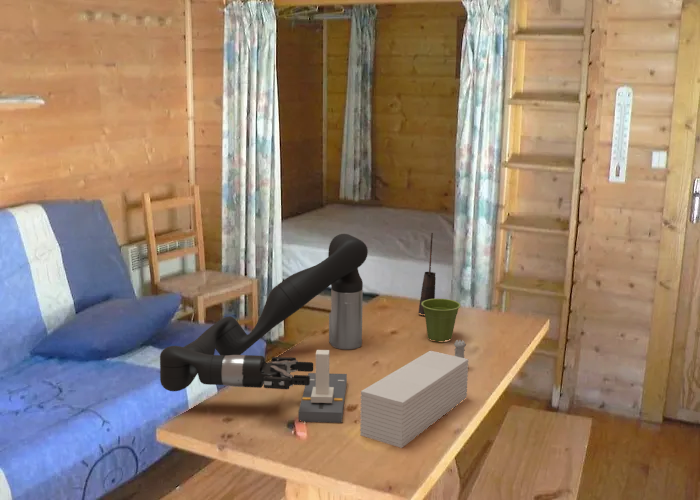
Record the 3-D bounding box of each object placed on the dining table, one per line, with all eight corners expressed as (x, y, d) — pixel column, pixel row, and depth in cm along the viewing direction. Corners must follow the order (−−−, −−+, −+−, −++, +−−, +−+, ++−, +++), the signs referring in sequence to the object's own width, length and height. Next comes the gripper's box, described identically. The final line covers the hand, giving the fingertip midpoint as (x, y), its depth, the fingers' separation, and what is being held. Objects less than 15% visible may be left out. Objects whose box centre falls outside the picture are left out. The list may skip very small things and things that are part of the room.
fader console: (308, 381, 202) (308, 371, 201) (346, 382, 201) (346, 372, 201) (298, 421, 178) (298, 410, 178) (341, 422, 178) (341, 411, 177)
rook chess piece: (468, 367, 213) (469, 339, 211) (465, 372, 209) (466, 344, 207) (452, 365, 214) (453, 337, 213) (449, 370, 210) (450, 342, 209)
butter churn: (433, 321, 253) (436, 238, 247) (407, 316, 258) (409, 234, 252) (444, 314, 261) (447, 233, 255) (419, 310, 266) (421, 230, 260)
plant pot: (412, 339, 236) (413, 303, 233) (435, 330, 244) (436, 296, 242) (443, 348, 228) (445, 312, 225) (466, 339, 236) (468, 303, 234)
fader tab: (313, 392, 187) (313, 347, 185) (333, 393, 187) (333, 348, 185) (310, 402, 181) (310, 356, 179) (332, 403, 181) (332, 356, 179)
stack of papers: (428, 390, 198) (430, 350, 195) (466, 399, 192) (468, 359, 189) (360, 436, 172) (360, 391, 169) (401, 449, 166) (402, 402, 164)
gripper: (249, 374, 191) (314, 377, 190) (237, 397, 177) (308, 400, 176) (248, 345, 189) (314, 348, 188) (237, 367, 175) (308, 369, 174)
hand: (311, 373), depth 182 cm, fingers open, 8 cm apart
